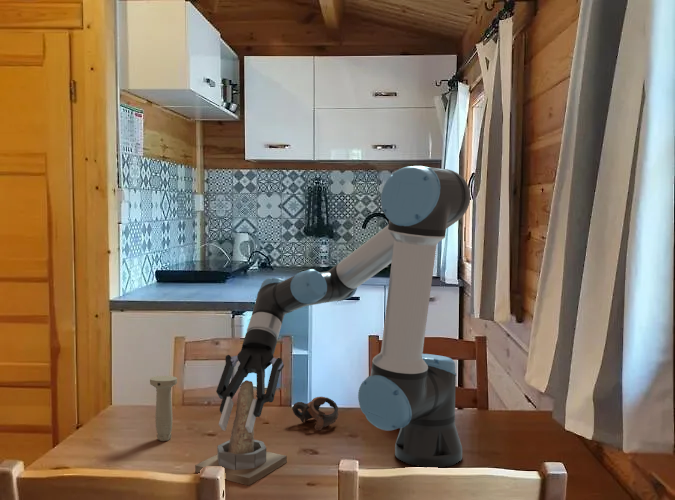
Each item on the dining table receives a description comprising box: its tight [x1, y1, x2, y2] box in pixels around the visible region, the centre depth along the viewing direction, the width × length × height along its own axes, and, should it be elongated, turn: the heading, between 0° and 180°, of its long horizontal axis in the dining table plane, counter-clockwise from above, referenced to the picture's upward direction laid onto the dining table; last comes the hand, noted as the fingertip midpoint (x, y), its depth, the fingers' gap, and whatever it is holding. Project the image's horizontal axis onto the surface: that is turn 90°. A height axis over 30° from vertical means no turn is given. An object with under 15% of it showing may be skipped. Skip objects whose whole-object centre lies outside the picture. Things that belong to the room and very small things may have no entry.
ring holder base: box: [194, 439, 288, 486], centre depth 142 cm, size 14×14×4 cm
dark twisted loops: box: [291, 396, 339, 431], centre depth 170 cm, size 12×10×8 cm
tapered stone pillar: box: [228, 380, 255, 454], centre depth 141 cm, size 6×18×6 cm
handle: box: [149, 375, 178, 442], centre depth 159 cm, size 5×6×15 cm
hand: (235, 428), depth 138 cm, fingers open, 5 cm apart
